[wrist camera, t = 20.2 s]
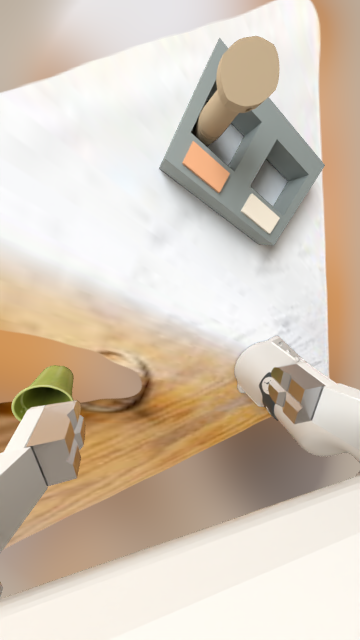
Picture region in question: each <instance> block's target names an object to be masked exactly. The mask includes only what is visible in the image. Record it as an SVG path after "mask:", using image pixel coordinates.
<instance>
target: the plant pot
mask: <svg viewBox="0 0 360 640" xmlns="http://www.w3.org/2000/svg"><path fill="white" fill-rule="evenodd" d="M72 387H73V374H72V372H71V370H70V369H68V368H67V367H64V366H56V365H54V366H50V367H48V368H46V369H45V370H44V371H43V372H42V373H41V374H40V375H39V376H38V377H37V378H36V380H35V381H34V382H33V383H32V384H31V385H30V386H29V387H27V388H26V389H24V390H22V391H21V392H20V393H18V395H17V396H16V397H15V398H14V400H13V402H12V412H13V414H14V416H15V417H16V418H17V419H18V420H19V421H21V420H22V419H23V417H24V415H25V413H26V411H27V410H28V409H30V408H31V407H37V406H44V405H49V404H55V403H62V402H69V401H73V398H72Z"/></svg>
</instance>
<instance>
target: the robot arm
mask: <svg viewBox="0 0 360 640" xmlns="http://www.w3.org/2000/svg"><path fill="white" fill-rule="evenodd" d="M235 377H236V379H237V382H238V385H237V389H238V391H239V392H241V393H247V395H248V396H249V397H250V398H251V399H252V400H253V401H254V402H255V403H256V405H258V406H259V407H260V406H261V407H265V408H266V409H267V411H268V412H269V413H270V415H272V416H273V417H274V418H275V419H276V420H278V421H279V422H280V423H281V424H282V425H283V426H284V428H286V430H287V431H288V432H289V433H290V435H291V436H292V437H293V438H294V440H295V441H296V442H297V443H298V444H299V446H300V447H301V448H303V449H304V450H306V451H307V452H309V453H311V454H314V455H317V456H333V455H337V454H342V453H349V454H351V455H352V456H353V457H354V458H355V459H356V460H357V461H358V462H360V390H358V389H355V388H352V387H349V386H346V385H343V384H340V383H339V384H336V383H335V382H333V381H332V380H331V379H329V378H328V377H326V376H325V375H324V374H322V373H321V372H319V371H318V370H316V369H315V368H313V367H312V366H311V365H309V364H308V363H307V362H306V361H305V360H304V359H302V358H301V357H300V356H299V355H298V354H297V353H296V352H295V351H294V350H293V349H292V348H290V347H289V346H288V345H287V344H286V343H285V342H284V341H283V340H282V339H281V338H280V337H279V336H274V337H272V338H271V339H269V340H267V341H264V342H259V343H256V344H254V345H252V346H250V347H249V348H247V349H246V350H245V351H244V352H243V353H242V354H241V355H240V357H239V358H238V360H237V362H236V365H235ZM80 412H81V406H80V402H79V401H77V400H76V401H69V402H62V403H55V404H49V405H44V406H37V407H31V408H30V409H28V410H27V411H26V413H25V415H24V417H23V419H22V420H21V422H20V424H19V426H18V428H17V429H16V431H15V433H14V435H13V436H12V438H11V440H10V442H9V444H8V445H7V447H6V449H5V451H4V452H3V453H0V553H1V552H2V550H3V549H4V548H5V546H6V545H7V543H8V542H9V541H10V539H11V538H12V537H13V535H14V534H15V532H16V531H17V530H18V528H19V527H20V526H21V524H22V523H23V521H24V520H25V519H26V517H27V516H28V515H29V513H30V512H31V510H32V509H33V508H34V506H35V505H36V503H37V502H38V501H39V499H40V498H41V497H42V495H43V494H44V492H45V491H46V490H47V488H48V487H47V486H51V485H54V484H58V483H61V482H65V481H69V480H72V479H76V478H77V476H78V471H79V466H80V461H81V455H80V452H79V450H80V449H81V448H82V446H83V445H84V440H85V422H84V417H82V416H81V415H80ZM2 590H3V587H2V585H1V582H0V596H1V593H2ZM0 640H360V472H358V474H357V475H356V476H355V477H353V478H350V479H347V480H344V481H341V482H339V483H336V484H333V485H330V486H327V487H324V488H321V489H318V490H316V491H312V492H309V493H306V494H304V495H301V496H298V497H295V498H292V499H289V500H286V501H283V502H280V503H278V504H274V505H272V506H269V507H266V508H263V509H260V510H257V511H254V512H251V513H248V514H245V515H242V516H240V517H237V518H234V519H231V520H228V521H225V522H222V523H219V524H216V525H214V526H211V527H208V528H205V529H202V530H199V531H196V532H193V533H190V534H187V535H184V536H182V537H178V538H176V539H173V540H170V541H167V542H164V543H161V544H158V545H155V546H153V547H149V548H147V549H144V550H141V551H138V552H135V553H132V554H129V555H126V556H123V557H121V558H118V559H115V560H112V561H109V562H106V563H103V564H100V565H97V566H94V567H91V568H89V569H86V570H83V571H80V572H77V573H74V574H71V575H69V576H65V577H62V578H60V579H57V580H54V581H51V582H48V583H45V584H42V585H39V586H36V587H34V588H31V589H28V590H25V591H22V592H19V593H16V594H13V595H10V596H8V597H4V598H2V599H0Z"/></svg>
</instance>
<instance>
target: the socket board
mask: <svg viewBox="0 0 360 640" xmlns="http://www.w3.org/2000/svg"><path fill="white" fill-rule="evenodd" d="M227 50H228V48H227V46H226V45H225V44H224V43H223V42H222V40H221V39H220V38H219V40H218V42H217V44H216V46H215V48H214V50H213V53H212V55H211V57H210V59H209V61H208V63H207V65H206V67H205V69H204V71H203V74H202V76H201V78H200V80H199V82H198V84H197V87H196V89H195V91H194V93H193V95H192V98H191V100H190V102H189V104H188V106H187V108H186V111H185V113H184V115H183V117H182V119H181V122H180V124H179V126H178V128H177V130H176V132H175V135H174V137H173V139H172V141H171V143H170V146H169V148H168V150H167V152H166V154H165V156H164V159H163V161H162V163H161V165H160V167H159V169H161V170H162V171H163V172H165V173H166V174H167V175H169V176H170V177H171V178H172V179H174V180H175V181H176V182H178V183H179V184H180V185H182V186H183V187H184V188H186V189H187V190H188V191H189V192H191V193H192V194H193V195H195V196H196V197H197V198H199V199H200V200H201V201H203V202H204V203H205V204H207V205H208V206H209V207H210V208H212V209H213V210H214V211H216V212H217V213H218V214H220V215H221V216H222V217H224V218H225V219H226V220H227V221H229V222H230V223H231V224H233V225H234V226H235V227H237V228H238V229H239V230H241V231H242V232H243V233H244V234H246V235H247V236H248V237H250V238H251V239H252V240H254V241H255V242H256V243H258V244H262V245H275V243H276V242H277V240H278V238H279V237H280V235H281V234H282V232H283V231H284V229H285V227H286V226H287V224H288V223H289V221H290V219H291V218H292V216H293V215H294V213H295V212H296V210H297V208H298V207H299V205H300V204H301V202H302V201H303V199H304V197H305V196H306V194H307V193H308V191H309V190H310V188H311V186H312V185H313V183H314V182H315V180H316V179H317V177H318V175H319V174H320V172H321V171H322V169H323V168H324V166H325V165H324V164H323V162H322V161H321V160H320V159H319V158H318V156H317V155H316V154H315V153H314V152H313V150H312V149H311V148H310V147H309V146H308V144H307V143H306V142H305V141H304V139H303V138H302V137H301V136H300V135H299V133H298V132H297V131H296V130H295V129H294V127H293V126H292V125H291V124H290V123H289V121H288V120H287V119H286V118H285V117H284V115H283V114H282V113H281V112H280V110H279V109H278V108H277V107H276V106H275V104H274V103H273V102H272V101H271V100H270V98H269V97H268V98H267V99H266V100H265V101H264V102H263V103H261V104H260V105H259V106H258V107H257V108H255V109H253V110H251V111H248V112H246V113H239V114H238V115H237V116H236V117H235V119H234V120H233V121H232V122H231V123H232V124H233V125H234V126H235V127H236V128H237V129H238V130H239V131H240V132H241V134H242V135H243V136H244V138H243V140H242V142H241V143H240V145H239V147H238V149H237V151H236V153H235V155H234V157H233V159H232V160H231V162H230V164H229V166H227V165H226V164H225V163H224V162H223V161H222V160H221V159H220V158H218V157H217V156H216V155H215V154H214V153H213V152H212V151H211V150H210V149H208V148H207V147H206V146H205V145H204V144H203V143H202V142H201V141H200V140H199V139H197V138H196V137H195V136H194V135H193V134H192V133H191V131H192V129H193V127H194V125H195V123H196V120H197V118H198V116H199V114H200V112H201V110H202V108H203V106H204V104H205V101H206V99H208V100H210V99H211V97H212V96H213V95H214V93H215V92H216V91H217V82H216V76H217V69H218V65H219V62H220V60H221V58H222V56H223V54H224V53H225V52H226V51H227ZM265 159H267V160H268V161H269V162H270V163H271V164H272V165H273V166H274V167H275V168H276V169H277V170H278V171H279V172H280V173H281V174H282V176H283V177H284V178H285V179H286V180H287V181H288V183H287V184H286V186H285V187H284V189H283V191H282V192H281V194H280V196H279V197H278V199H277V201H276V202H275V204H274V206H271V205H270V204H269V203H268V202H267V201H266V200H265V199H264V198H263V197H262V196H260V195H259V194H258V193H257V192H256V191H255V190H254V189H253V188H252V187H250V186H251V184H252V182H253V180H254V179H255V177H256V175H257V173H258V172H259V170H260V168H261V166H262V165H263V163H264V161H265Z"/></svg>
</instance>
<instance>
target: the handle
mask: <svg viewBox="0 0 360 640" xmlns="http://www.w3.org/2000/svg"><path fill="white" fill-rule="evenodd" d="M278 79H279V59H278V54H277V51H276V48H275V46H274V44H272V43H270V42H269V41H267V40H265V39H263V38H261V37H258V36H252V37H246V38H242V39H239V40H238V41H236V42H235V43H234V44H233V45H232V46H231V47H230V48H229V49H228V50H227V51H226V52H225V53H224V54H223V56H222V58H221V60H220V62H219V65H218V69H217V76H216V82H217V91H216V92H215V93H214V95H213V96H212V97H211V99H210V100H209V101H208V102H207V104H206V105H205V106H204V108H203V110H202V111H201V113H200V115H199V117H198V119H197V121H196V124H195V127H194V128H193V130H192V134H193V135H194V136H195V137H196V138H197V139H199V140H200V141H201V142H202V143H203V144H204V145H205V146H206V147H207V146H208V145H210V144H211V143H213V142H214V141H215V140H216V139H218V138H219V137H220V136H221V135H222V134H223V133H224V131H225V130H226V129H227V127H228V126H229V125H230V124H231V122H232V121H233V120H234V119H235V117H236V116H237V115H238V114H239V113H246V112H248V111H251V110H253V109H255V108H257V107H258V106H259V105H260V104H261V103H263V102H264V101H265V100H266V99H267V98H268V97H269V96H270V95H271V94H272V93H273V92H274V91H275V90H276V87H277V84H278Z"/></svg>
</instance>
